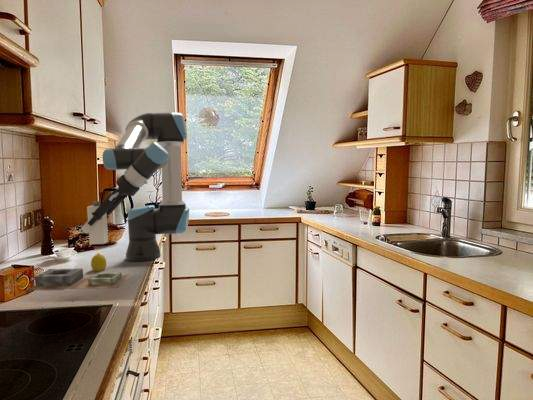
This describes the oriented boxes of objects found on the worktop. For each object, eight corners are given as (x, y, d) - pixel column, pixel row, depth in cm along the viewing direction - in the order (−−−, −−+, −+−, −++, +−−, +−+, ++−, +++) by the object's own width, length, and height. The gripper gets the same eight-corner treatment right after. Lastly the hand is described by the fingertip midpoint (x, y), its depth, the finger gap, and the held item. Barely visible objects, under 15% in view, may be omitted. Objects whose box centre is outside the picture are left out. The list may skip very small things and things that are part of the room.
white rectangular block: (108, 241, 148) (105, 200, 147) (104, 243, 144) (101, 201, 143) (94, 242, 148) (91, 201, 147) (89, 244, 144) (86, 202, 143)
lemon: (99, 275, 161) (98, 255, 160) (88, 274, 163) (87, 254, 162) (109, 272, 166) (108, 252, 165) (99, 271, 168) (97, 251, 167)
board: (132, 278, 156) (132, 264, 156) (117, 292, 140) (116, 276, 140) (52, 280, 156) (51, 266, 156) (27, 293, 140) (26, 278, 140)
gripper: (132, 190, 136) (84, 242, 138) (146, 186, 153) (104, 233, 155) (115, 174, 136) (67, 226, 137) (131, 172, 153) (88, 219, 154)
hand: (87, 229), depth 146 cm, fingers closed on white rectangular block, 4 cm apart
